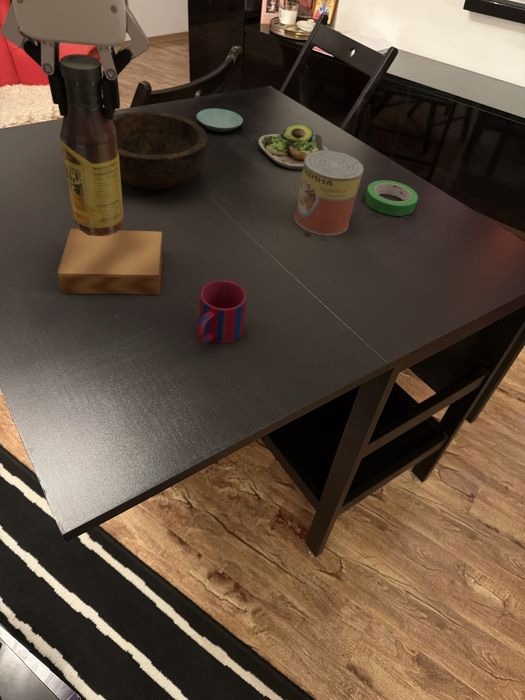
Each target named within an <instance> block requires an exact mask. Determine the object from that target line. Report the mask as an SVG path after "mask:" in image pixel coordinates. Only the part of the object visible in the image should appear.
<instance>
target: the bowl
mask: <svg viewBox="0 0 525 700" xmlns="http://www.w3.org/2000/svg"><path fill="white" fill-rule="evenodd" d="M112 121H113V123H114V125H115V129H116V134H117V135H116V138H117V149H118V151H119V163H120V177H121V181H123V182H125V183H127V184H129V185H131V186H134V187H135V188H136V187H137V188H139V189H140V188H141V189H145V190H166V189H167V190H168V189H172V188H175V187H178V186H180V185H183V184H184V183H186V182H188V181H189V180H191V179H192V178H193V177H194V175H195V174H197V172H198V171H199V169H200V168H201V166H202V164H203V162H204V160H205V156H206V151H207V145H208V139H209V138H208V134H207V132H206V130H205V129H204V128H203V127H202V126H201V125H200V124H198V123H196V122H195V121H193V120H191V119H189V118H187V117H184V116H180V115H177V114H173V113H168V112H162V111H161V112H160V111H147V110H146V111H131V112H124V113H120V114H116V115H114V116H113V120H112Z"/></svg>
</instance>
